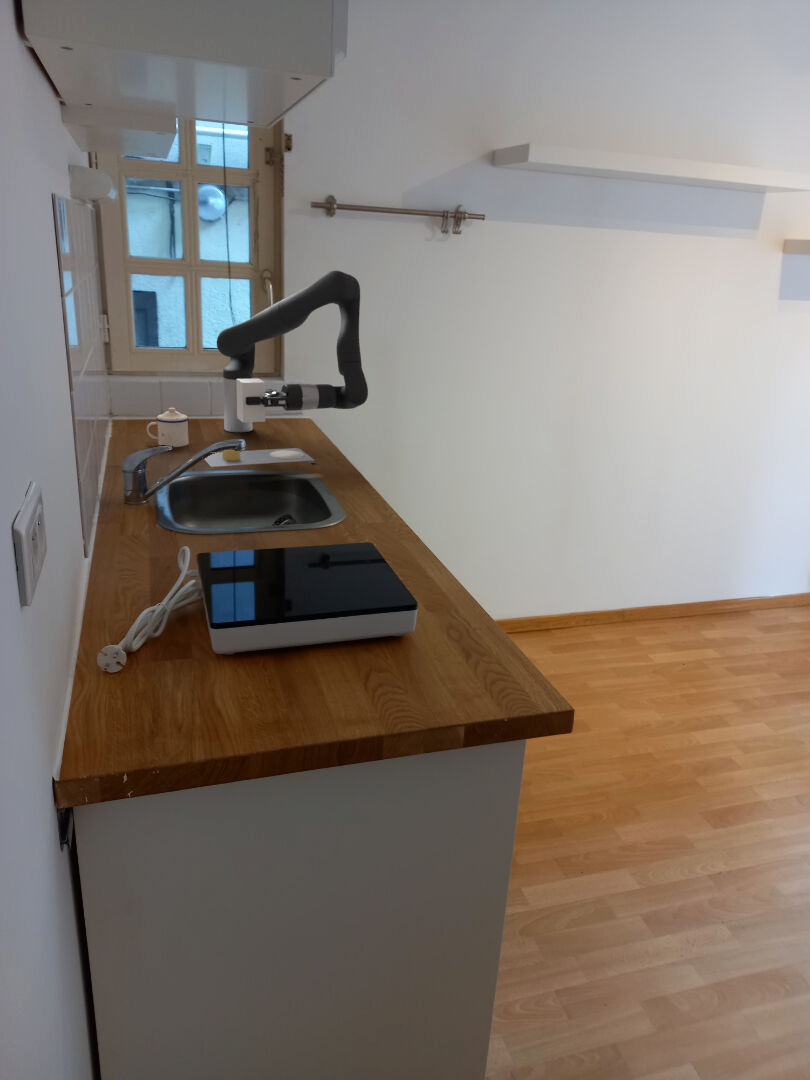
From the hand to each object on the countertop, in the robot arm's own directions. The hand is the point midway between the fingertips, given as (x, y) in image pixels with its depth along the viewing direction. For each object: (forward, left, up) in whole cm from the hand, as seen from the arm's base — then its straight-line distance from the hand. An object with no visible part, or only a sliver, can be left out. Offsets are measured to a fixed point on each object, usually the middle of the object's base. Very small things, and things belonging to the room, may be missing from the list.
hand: (243, 398), depth 217 cm
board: (0, +4, -18) cm, 18 cm away
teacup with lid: (-21, -17, -18) cm, 33 cm away
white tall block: (0, +2, -6) cm, 6 cm away
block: (0, -4, -17) cm, 17 cm away
